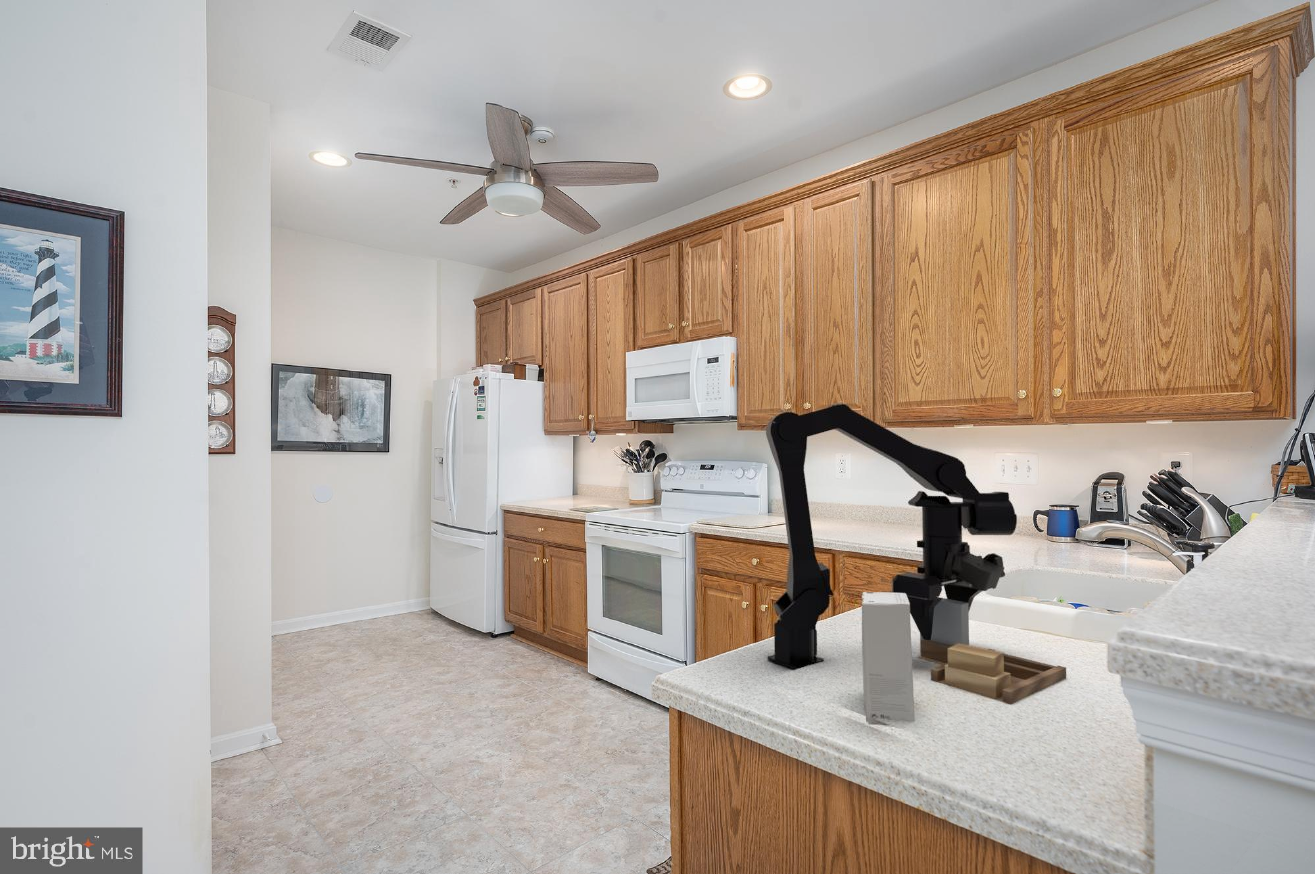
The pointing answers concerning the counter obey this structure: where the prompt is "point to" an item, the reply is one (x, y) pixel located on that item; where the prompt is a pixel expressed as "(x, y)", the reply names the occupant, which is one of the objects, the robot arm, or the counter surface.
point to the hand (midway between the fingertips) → (943, 634)
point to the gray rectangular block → (950, 623)
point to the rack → (1018, 677)
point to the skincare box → (887, 657)
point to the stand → (934, 652)
